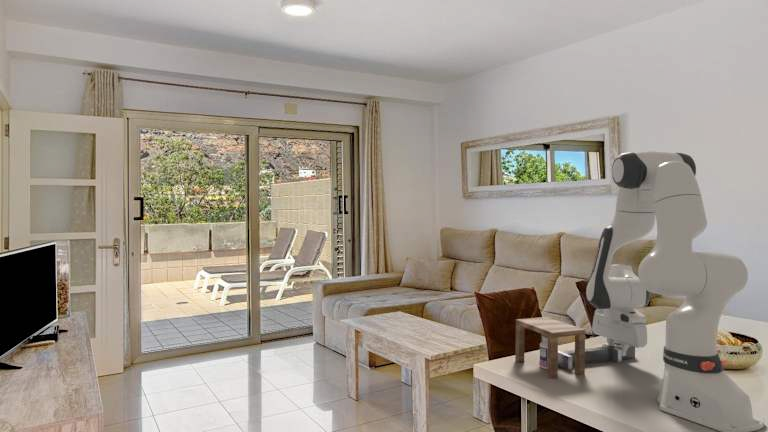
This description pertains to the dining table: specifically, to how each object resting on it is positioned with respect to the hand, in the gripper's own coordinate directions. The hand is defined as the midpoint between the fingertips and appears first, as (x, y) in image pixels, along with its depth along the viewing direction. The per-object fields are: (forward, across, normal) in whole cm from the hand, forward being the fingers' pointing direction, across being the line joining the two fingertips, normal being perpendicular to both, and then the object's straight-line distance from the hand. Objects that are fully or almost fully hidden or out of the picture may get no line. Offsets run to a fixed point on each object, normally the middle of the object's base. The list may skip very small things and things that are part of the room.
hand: (617, 353), depth 165 cm
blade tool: (+2, 0, -9) cm, 9 cm away
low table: (+2, 0, -28) cm, 28 cm away
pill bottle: (+2, 0, -28) cm, 28 cm away
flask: (+2, -15, +16) cm, 22 cm away
